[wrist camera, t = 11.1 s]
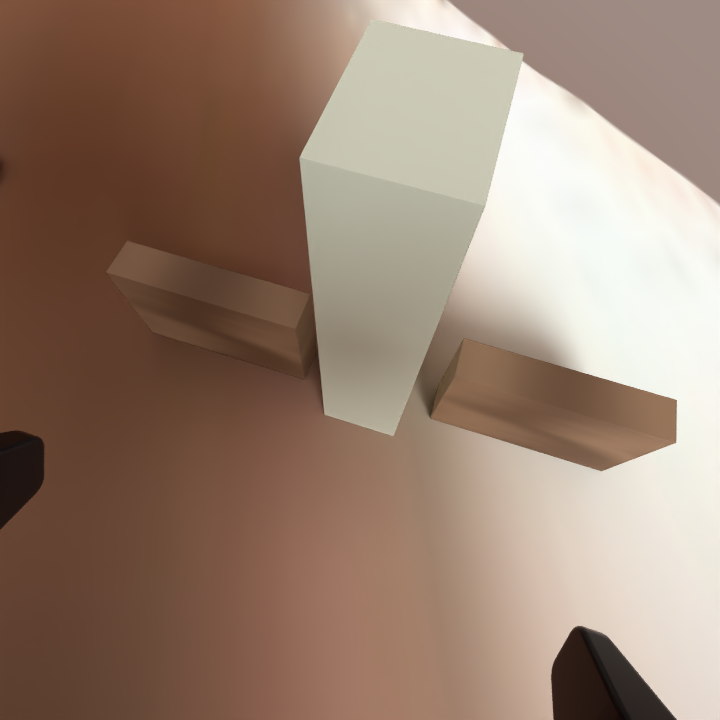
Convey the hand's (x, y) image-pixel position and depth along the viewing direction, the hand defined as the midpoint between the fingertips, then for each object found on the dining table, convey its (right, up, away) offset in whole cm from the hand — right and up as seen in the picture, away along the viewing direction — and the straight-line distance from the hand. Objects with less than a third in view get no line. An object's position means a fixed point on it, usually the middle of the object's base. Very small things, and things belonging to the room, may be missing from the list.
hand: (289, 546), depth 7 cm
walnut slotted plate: (+2, +2, +12) cm, 13 cm away
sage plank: (+2, +2, +12) cm, 13 cm away
